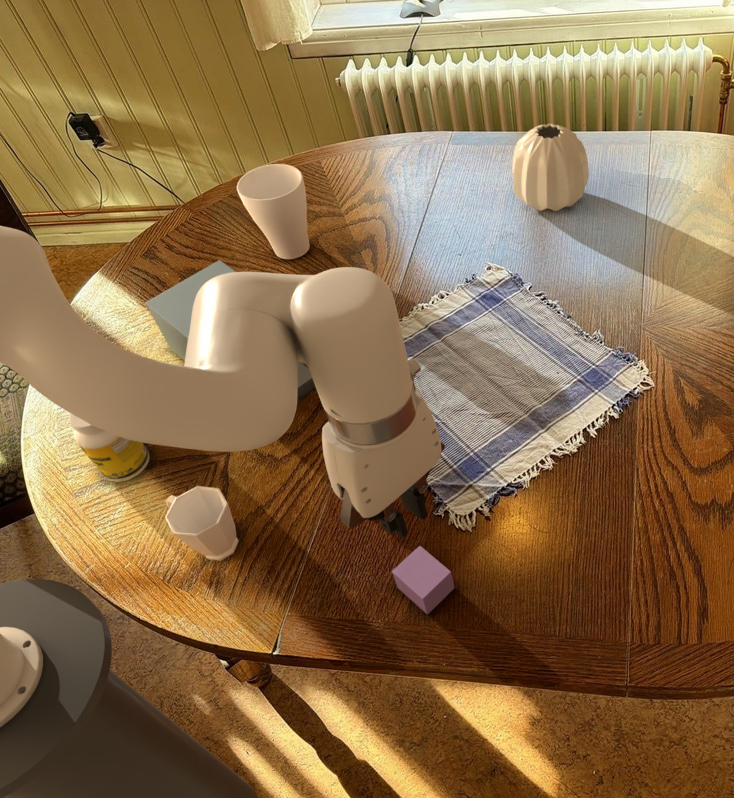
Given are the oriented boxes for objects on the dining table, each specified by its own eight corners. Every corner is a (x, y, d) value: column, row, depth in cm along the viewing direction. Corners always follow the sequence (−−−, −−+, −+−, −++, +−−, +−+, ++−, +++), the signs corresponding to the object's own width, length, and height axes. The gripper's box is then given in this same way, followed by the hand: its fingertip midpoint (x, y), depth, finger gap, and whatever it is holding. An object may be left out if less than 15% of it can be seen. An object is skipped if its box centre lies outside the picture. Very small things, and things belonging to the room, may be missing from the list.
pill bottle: (92, 474, 100) (50, 422, 91) (127, 440, 103) (89, 387, 95) (127, 490, 98) (86, 438, 90) (161, 455, 101) (125, 402, 93)
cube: (427, 614, 85) (422, 599, 82) (397, 587, 88) (391, 571, 85) (454, 587, 87) (451, 571, 84) (424, 562, 90) (419, 545, 87)
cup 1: (220, 580, 89) (195, 546, 83) (162, 544, 92) (134, 509, 86) (261, 535, 93) (240, 500, 87) (204, 502, 96) (180, 466, 90)
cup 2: (294, 275, 126) (271, 207, 116) (249, 256, 129) (222, 189, 119) (335, 241, 132) (315, 173, 121) (290, 224, 135) (268, 157, 125)
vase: (592, 181, 142) (595, 114, 131) (578, 224, 133) (580, 156, 123) (522, 173, 144) (519, 107, 134) (504, 215, 135) (499, 148, 125)
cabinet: (294, 347, 114) (276, 300, 107) (224, 395, 108) (199, 348, 101) (240, 306, 121) (219, 259, 114) (170, 349, 115) (144, 302, 108)
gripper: (411, 332, 68) (436, 453, 82) (265, 438, 60) (321, 551, 74) (469, 370, 64) (486, 490, 78) (323, 488, 57) (370, 597, 71)
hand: (405, 519), depth 76 cm, fingers closed
